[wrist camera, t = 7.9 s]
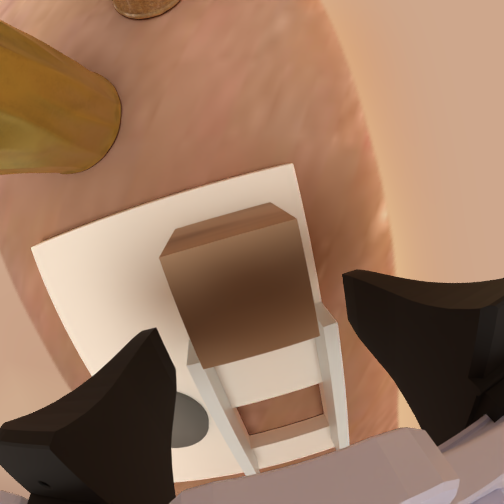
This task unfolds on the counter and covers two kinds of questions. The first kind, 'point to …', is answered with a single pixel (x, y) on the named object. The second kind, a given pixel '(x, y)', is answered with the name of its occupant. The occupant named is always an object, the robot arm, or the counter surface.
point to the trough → (332, 386)
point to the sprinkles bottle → (143, 7)
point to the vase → (51, 109)
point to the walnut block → (241, 284)
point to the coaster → (188, 422)
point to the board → (168, 317)
